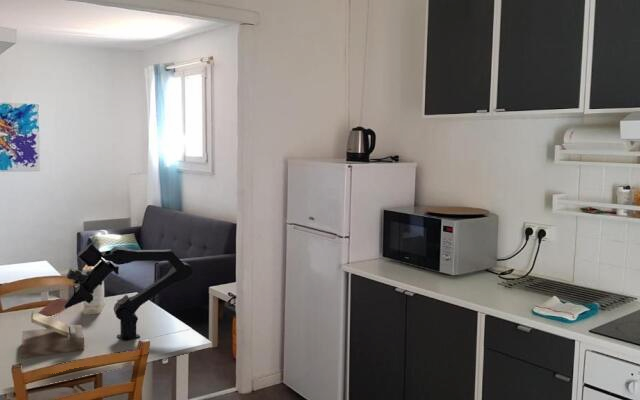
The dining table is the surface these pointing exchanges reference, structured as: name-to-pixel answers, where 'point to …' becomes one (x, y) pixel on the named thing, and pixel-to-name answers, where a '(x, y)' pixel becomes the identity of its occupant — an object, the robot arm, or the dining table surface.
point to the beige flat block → (51, 341)
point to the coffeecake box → (94, 297)
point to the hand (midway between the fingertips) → (65, 307)
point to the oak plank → (49, 323)
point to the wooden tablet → (54, 307)
